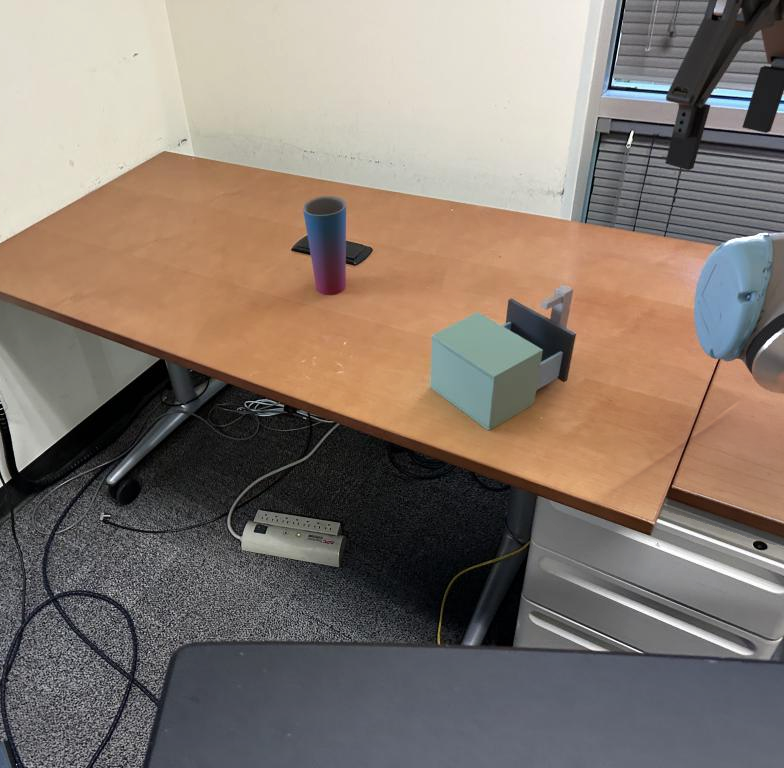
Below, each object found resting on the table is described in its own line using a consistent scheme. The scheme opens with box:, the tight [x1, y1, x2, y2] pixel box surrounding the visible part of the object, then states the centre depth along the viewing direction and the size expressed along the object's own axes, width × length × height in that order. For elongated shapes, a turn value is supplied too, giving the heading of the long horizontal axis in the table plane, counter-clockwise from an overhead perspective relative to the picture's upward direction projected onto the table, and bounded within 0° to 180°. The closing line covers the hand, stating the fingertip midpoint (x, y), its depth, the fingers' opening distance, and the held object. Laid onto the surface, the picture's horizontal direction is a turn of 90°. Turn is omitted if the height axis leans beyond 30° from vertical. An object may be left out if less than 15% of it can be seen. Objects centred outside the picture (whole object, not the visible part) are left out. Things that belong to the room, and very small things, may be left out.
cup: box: [302, 195, 347, 296], centre depth 112 cm, size 7×7×15 cm
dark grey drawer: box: [501, 284, 577, 391], centre depth 91 cm, size 12×11×10 cm
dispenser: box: [429, 311, 543, 431], centre depth 89 cm, size 8×11×9 cm
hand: (718, 147), depth 75 cm, fingers open, 13 cm apart
